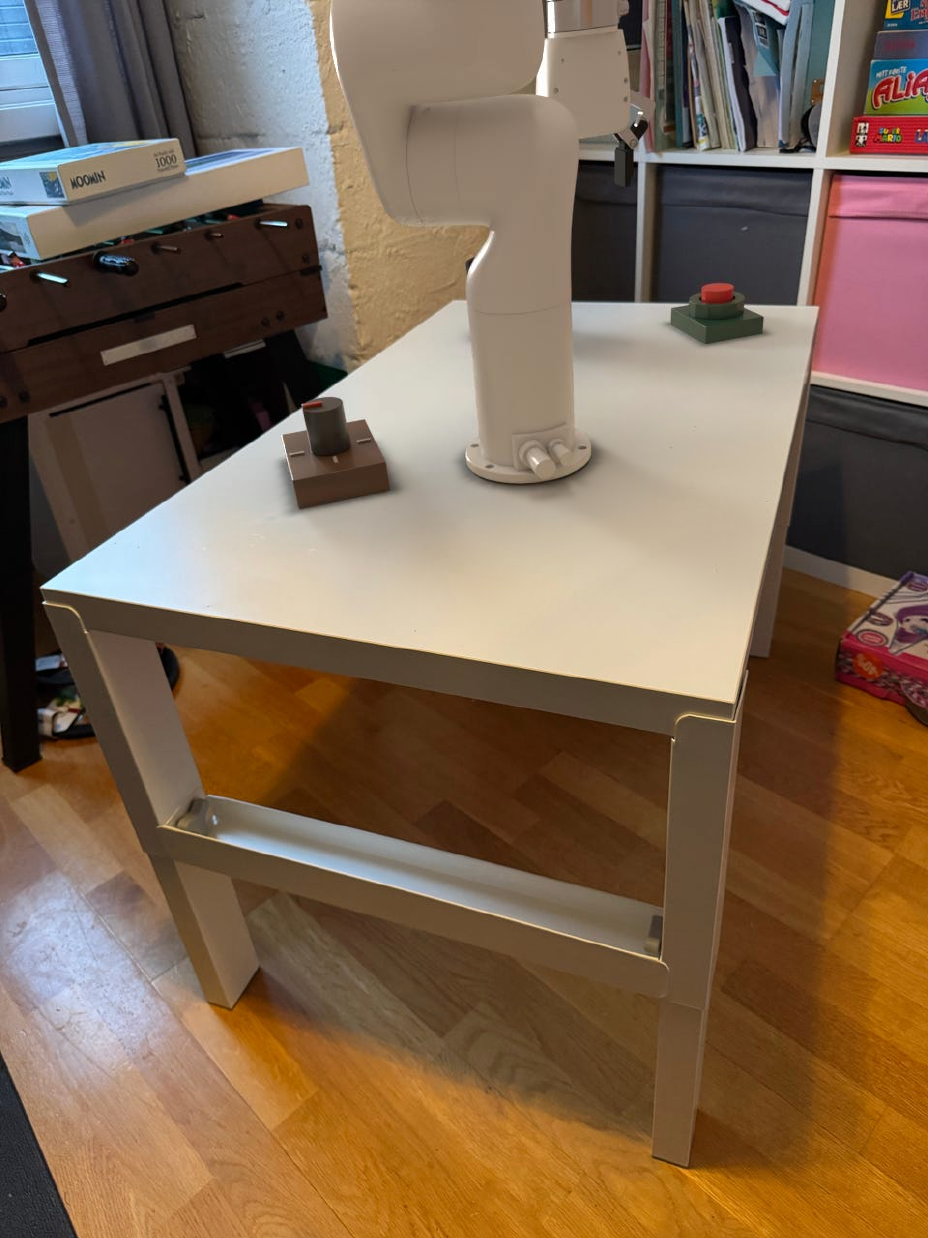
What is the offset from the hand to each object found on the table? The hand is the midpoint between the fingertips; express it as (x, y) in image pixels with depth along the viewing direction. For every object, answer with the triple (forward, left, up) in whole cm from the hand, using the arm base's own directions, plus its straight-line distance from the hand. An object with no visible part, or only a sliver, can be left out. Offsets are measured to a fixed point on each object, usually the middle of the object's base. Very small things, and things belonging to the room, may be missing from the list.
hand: (585, 191), depth 104 cm
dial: (-24, +37, -16) cm, 46 cm away
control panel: (-24, +37, -19) cm, 48 cm away
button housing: (-2, -17, -19) cm, 25 cm away
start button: (-2, -17, -15) cm, 23 cm away
